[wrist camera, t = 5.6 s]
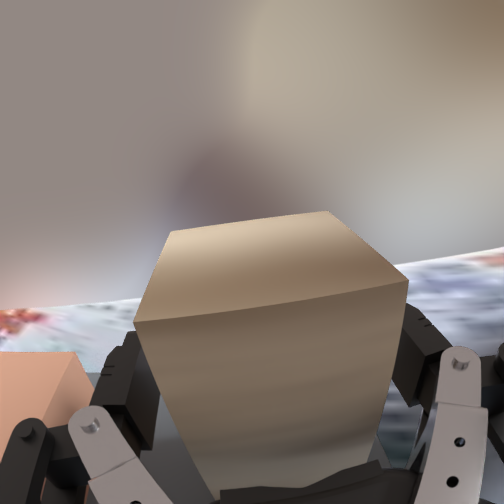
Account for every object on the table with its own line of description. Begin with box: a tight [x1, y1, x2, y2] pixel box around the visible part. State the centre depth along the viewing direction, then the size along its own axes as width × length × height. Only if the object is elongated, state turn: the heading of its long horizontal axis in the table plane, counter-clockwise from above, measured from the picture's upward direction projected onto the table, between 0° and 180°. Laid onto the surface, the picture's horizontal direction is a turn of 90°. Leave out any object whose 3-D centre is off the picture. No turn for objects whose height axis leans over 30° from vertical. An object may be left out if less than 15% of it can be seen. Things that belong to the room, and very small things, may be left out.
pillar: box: [133, 211, 409, 500], centre depth 9 cm, size 5×5×10 cm
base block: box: [0, 352, 95, 504], centre depth 10 cm, size 8×8×4 cm
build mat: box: [86, 373, 392, 504], centre depth 11 cm, size 15×23×1 cm, turn 96°
